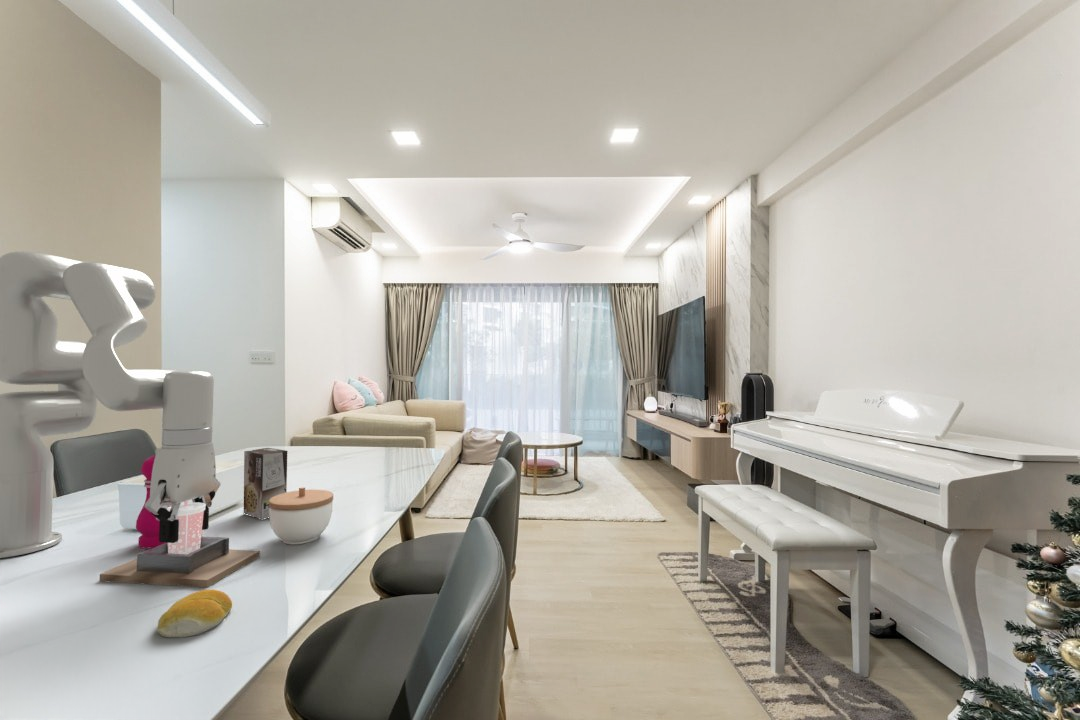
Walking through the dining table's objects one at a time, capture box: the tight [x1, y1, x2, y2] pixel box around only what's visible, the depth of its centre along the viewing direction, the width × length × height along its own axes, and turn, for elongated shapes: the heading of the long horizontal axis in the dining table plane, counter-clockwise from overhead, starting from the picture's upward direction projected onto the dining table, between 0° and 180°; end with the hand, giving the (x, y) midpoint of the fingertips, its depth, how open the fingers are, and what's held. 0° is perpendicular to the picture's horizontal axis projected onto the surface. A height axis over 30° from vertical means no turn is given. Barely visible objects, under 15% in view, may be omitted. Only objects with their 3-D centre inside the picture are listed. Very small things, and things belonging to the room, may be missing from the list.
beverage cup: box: [167, 500, 206, 554], centre depth 88 cm, size 6×6×14 cm
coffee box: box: [243, 447, 288, 520], centre depth 120 cm, size 9×6×16 cm
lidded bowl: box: [268, 486, 334, 546], centre depth 103 cm, size 13×13×11 cm
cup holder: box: [98, 535, 261, 588], centre depth 87 cm, size 20×13×4 cm, turn 85°
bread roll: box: [156, 589, 233, 638], centre depth 70 cm, size 8×9×4 cm
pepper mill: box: [135, 447, 170, 549], centre depth 100 cm, size 7×7×20 cm
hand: (184, 534), depth 88 cm, fingers closed on beverage cup, 6 cm apart
